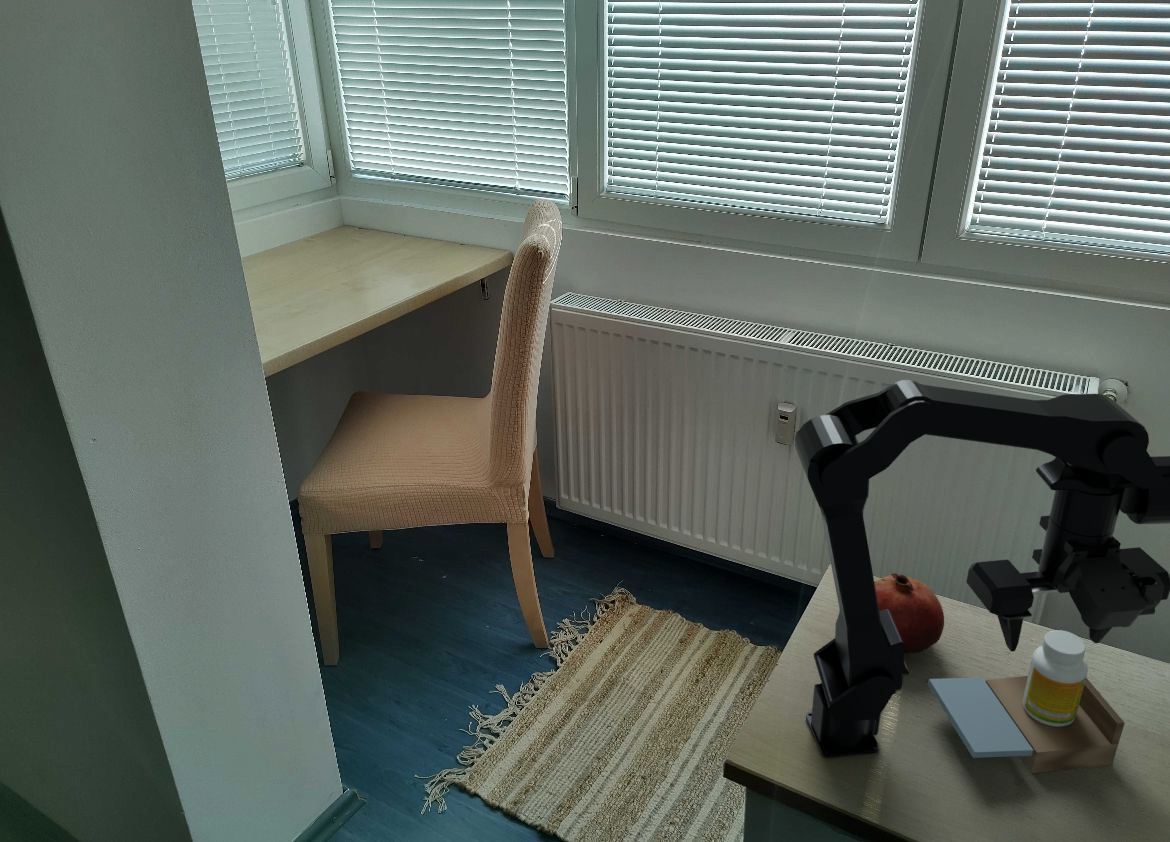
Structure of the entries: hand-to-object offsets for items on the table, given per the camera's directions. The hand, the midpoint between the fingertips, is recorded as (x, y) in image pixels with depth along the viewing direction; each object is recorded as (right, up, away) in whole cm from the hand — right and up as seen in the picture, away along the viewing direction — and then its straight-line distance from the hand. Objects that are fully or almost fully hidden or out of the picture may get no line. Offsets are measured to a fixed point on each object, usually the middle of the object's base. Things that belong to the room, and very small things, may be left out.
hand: (1052, 644), depth 96 cm
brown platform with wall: (+2, -11, +6) cm, 13 cm away
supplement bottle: (+2, -9, +4) cm, 10 cm away
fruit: (-10, -5, +20) cm, 23 cm away
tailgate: (-3, -9, +4) cm, 10 cm away
